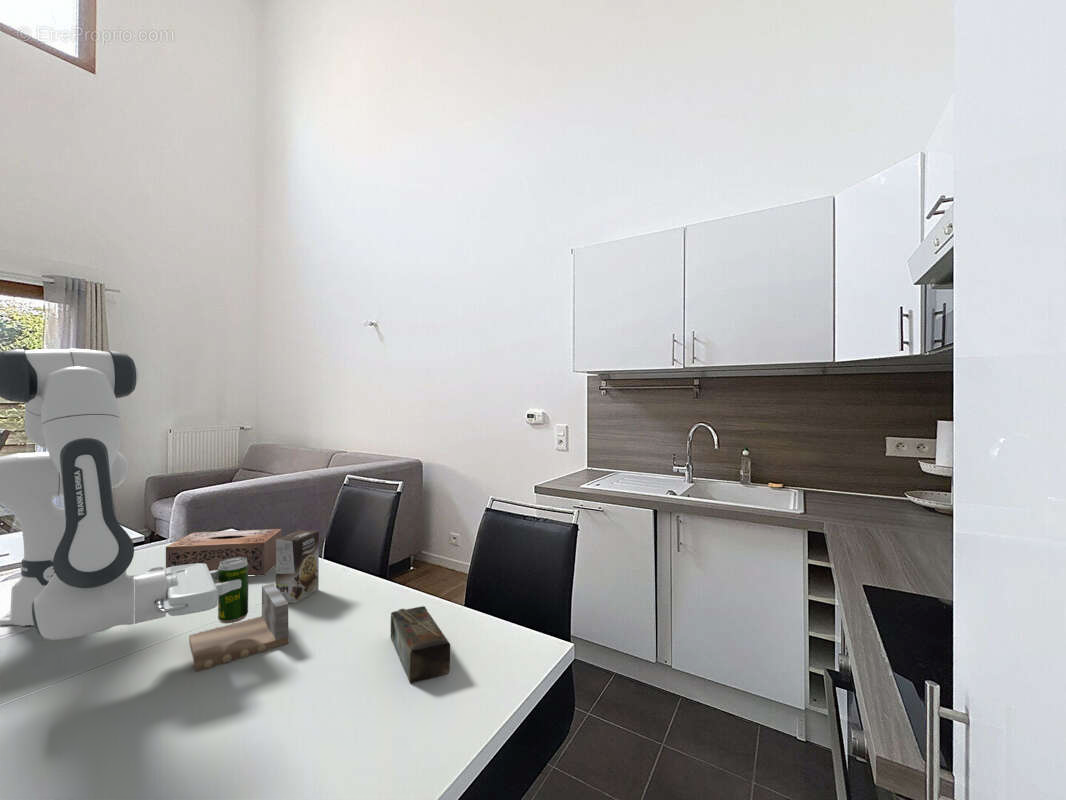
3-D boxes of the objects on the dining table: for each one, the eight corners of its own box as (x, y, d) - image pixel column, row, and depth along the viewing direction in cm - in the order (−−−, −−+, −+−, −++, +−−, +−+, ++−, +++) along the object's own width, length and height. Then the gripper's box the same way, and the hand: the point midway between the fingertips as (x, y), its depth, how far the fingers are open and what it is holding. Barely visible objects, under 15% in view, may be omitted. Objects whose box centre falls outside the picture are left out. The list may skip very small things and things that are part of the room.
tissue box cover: (281, 559, 152) (281, 528, 152) (264, 576, 138) (264, 542, 138) (192, 564, 147) (193, 532, 147) (165, 582, 133) (165, 547, 133)
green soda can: (243, 610, 103) (243, 555, 103) (252, 617, 99) (252, 560, 99) (214, 618, 99) (214, 561, 99) (222, 626, 95) (222, 567, 95)
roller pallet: (189, 641, 100) (189, 601, 100) (273, 619, 111) (273, 583, 111) (196, 672, 89) (196, 627, 89) (288, 644, 100) (288, 604, 100)
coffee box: (296, 604, 119) (296, 540, 119) (274, 601, 120) (274, 538, 120) (319, 589, 128) (320, 530, 128) (299, 587, 129) (299, 529, 129)
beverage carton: (425, 630, 106) (425, 601, 106) (451, 675, 89) (452, 640, 89) (389, 638, 102) (389, 608, 102) (409, 687, 85) (409, 651, 85)
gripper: (156, 595, 83) (247, 577, 92) (153, 564, 98) (230, 551, 107) (156, 631, 83) (247, 609, 92) (152, 595, 98) (230, 579, 107)
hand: (238, 578), depth 100 cm, fingers closed on green soda can, 5 cm apart
